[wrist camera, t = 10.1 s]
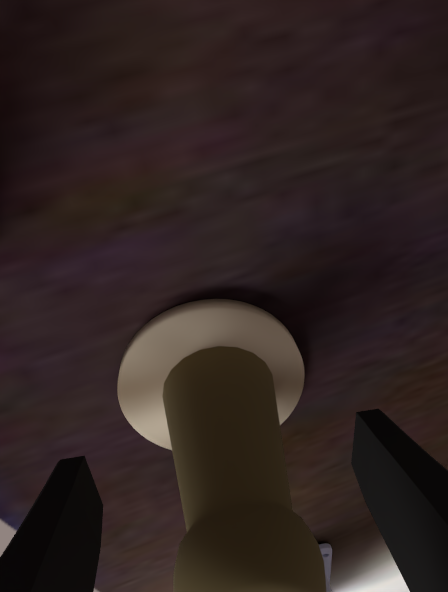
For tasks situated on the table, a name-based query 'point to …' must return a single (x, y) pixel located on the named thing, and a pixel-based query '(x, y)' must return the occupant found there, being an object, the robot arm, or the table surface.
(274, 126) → the table surface
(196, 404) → the cork
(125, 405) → the coaster
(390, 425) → the robot arm
